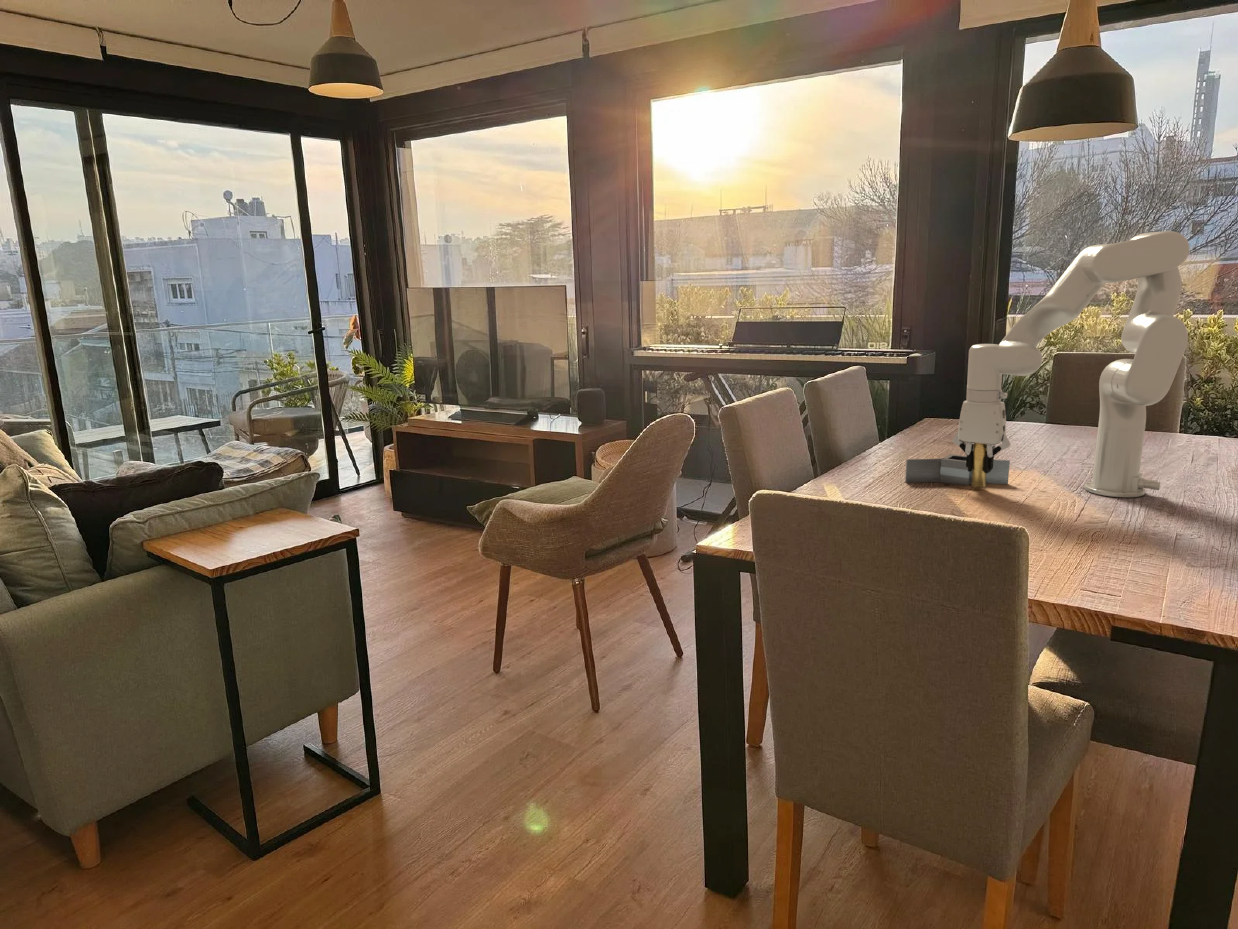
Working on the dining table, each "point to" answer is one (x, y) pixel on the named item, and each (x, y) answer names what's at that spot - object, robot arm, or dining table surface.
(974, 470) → the pin
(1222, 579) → the dining table surface
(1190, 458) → the dining table surface
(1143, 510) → the dining table surface
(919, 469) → the grey winged square socket
